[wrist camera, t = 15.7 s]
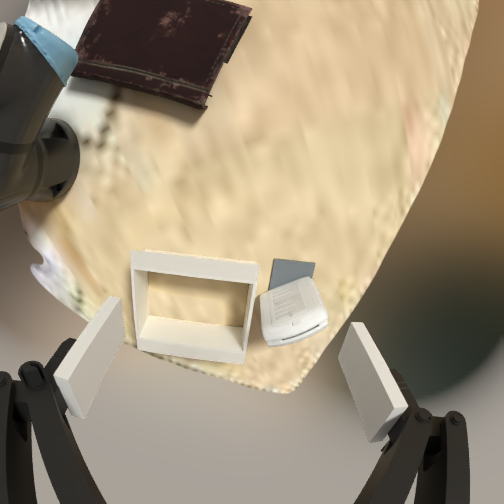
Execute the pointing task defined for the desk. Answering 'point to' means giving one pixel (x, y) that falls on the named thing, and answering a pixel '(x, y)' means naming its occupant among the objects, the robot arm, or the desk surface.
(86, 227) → the desk surface
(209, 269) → the carton
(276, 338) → the photo printer
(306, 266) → the mat
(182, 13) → the diary
